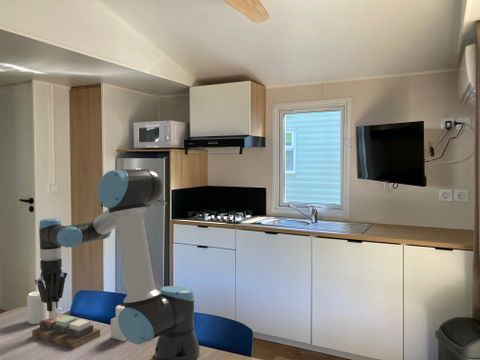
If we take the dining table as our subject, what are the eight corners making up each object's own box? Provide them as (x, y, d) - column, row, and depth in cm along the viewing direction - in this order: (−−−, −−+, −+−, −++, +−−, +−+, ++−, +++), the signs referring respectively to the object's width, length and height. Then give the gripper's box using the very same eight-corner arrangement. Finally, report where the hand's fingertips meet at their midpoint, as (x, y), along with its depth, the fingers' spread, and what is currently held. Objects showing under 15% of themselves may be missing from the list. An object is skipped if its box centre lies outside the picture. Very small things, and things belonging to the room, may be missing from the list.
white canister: (40, 325, 163) (39, 296, 163) (23, 324, 165) (22, 295, 165) (53, 318, 171) (52, 290, 171) (37, 317, 173) (36, 289, 172)
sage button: (76, 324, 154) (75, 317, 154) (64, 329, 150) (64, 322, 149) (67, 322, 156) (66, 315, 156) (55, 326, 152) (55, 320, 152)
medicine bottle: (124, 330, 158) (124, 300, 157) (138, 334, 154) (137, 303, 153) (110, 337, 152) (109, 306, 151) (124, 341, 148) (123, 309, 147)
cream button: (89, 327, 151) (89, 321, 150) (79, 332, 146) (78, 326, 146) (80, 325, 153) (80, 319, 153) (69, 330, 148) (69, 323, 148)
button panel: (100, 335, 153) (99, 323, 153) (74, 348, 142) (73, 335, 142) (59, 325, 164) (59, 313, 164) (32, 336, 153) (32, 323, 153)
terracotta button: (62, 324, 158) (62, 317, 157) (51, 328, 153) (51, 322, 153) (54, 321, 160) (54, 315, 160) (42, 326, 155) (42, 320, 155)
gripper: (58, 254, 163) (60, 311, 164) (29, 261, 151) (31, 322, 152) (71, 255, 159) (73, 314, 160) (42, 263, 148) (44, 326, 149)
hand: (52, 318), depth 156 cm, fingers closed
